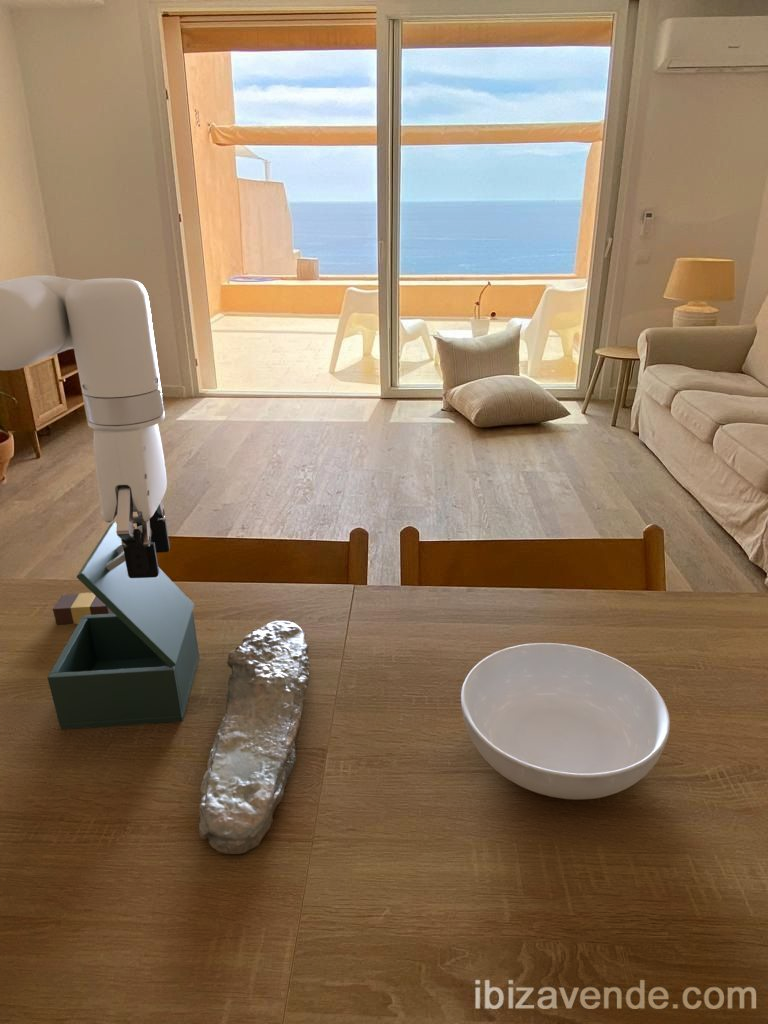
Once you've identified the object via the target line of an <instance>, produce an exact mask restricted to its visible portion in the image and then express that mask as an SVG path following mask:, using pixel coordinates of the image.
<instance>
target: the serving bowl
mask: <svg viewBox="0 0 768 1024" xmlns="http://www.w3.org/2000/svg"><path fill="white" fill-rule="evenodd" d="M460 704H461V711H462V717H463V721H464V725H465V728H466V731H467V733H468V736H469V738H470V740H471V742H472V744H473V745H474V747H475V749H476V750H477V751H478V753H479V755H480V756H481V757H482V758H483V759H484V760H485V761H486V763H488V764H489V765H490V766H491V768H493V769H494V770H495V771H496V772H498V773H499V774H500V775H501V776H503V777H504V778H505V779H507V780H509V781H510V782H512V783H514V784H515V785H517V786H519V787H521V788H523V789H526V790H528V791H531V792H533V793H536V794H539V795H543V796H547V797H551V798H556V799H557V798H558V799H564V800H592V799H601V798H604V797H608V796H612V795H614V794H617V793H620V792H622V791H624V790H627V789H628V788H630V787H632V786H633V785H635V784H637V783H638V782H639V781H641V780H642V779H643V778H644V777H645V776H646V775H648V773H649V772H650V771H651V770H652V769H653V768H654V766H655V765H656V764H657V762H658V761H659V759H660V757H661V756H662V753H663V751H664V750H665V747H666V744H667V742H668V740H669V736H670V732H671V719H670V713H669V710H668V707H667V704H666V702H665V700H664V699H663V697H662V696H661V694H660V693H659V691H658V690H657V689H656V687H655V686H654V685H653V684H652V683H651V682H650V681H649V680H648V679H647V678H645V676H643V675H642V674H641V673H639V671H637V670H636V669H634V668H632V667H631V666H630V665H627V664H626V663H624V662H623V661H620V660H618V659H617V658H614V657H612V656H609V655H607V654H605V653H603V652H599V651H597V650H594V649H591V648H587V647H583V646H578V645H573V644H565V643H554V642H553V643H552V642H538V643H537V642H536V643H525V644H519V645H514V646H510V647H506V648H504V649H501V650H498V651H496V652H493V653H492V654H489V655H488V656H486V657H484V658H483V659H481V660H480V661H479V662H478V663H477V664H475V665H474V667H472V669H471V670H470V671H469V673H468V674H467V676H466V677H465V679H464V682H463V684H462V687H461V693H460Z"/></svg>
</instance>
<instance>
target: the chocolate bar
mask: <svg viewBox="0 0 768 1024" xmlns="http://www.w3.org/2000/svg"><path fill="white" fill-rule="evenodd" d="M52 612H53V617H54V620H55V624H56V625H71V624H74V625H78V623H79V621H80V620H81V618H82V616H83V615H99V614H114V613H113V612H112V611H111V610H110V609H109V608H108V607H107V606H106V605H105V604H104V603H103V602H102V601H101V600H100V599H99V598H98V597H96V596H95V595H94V594H93V593H92V592H91V591H90V592H79V593H63V594H61V596H60V597H59V599H58V600H57V602H56V603H55V604H54V606H53V608H52Z"/></svg>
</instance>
